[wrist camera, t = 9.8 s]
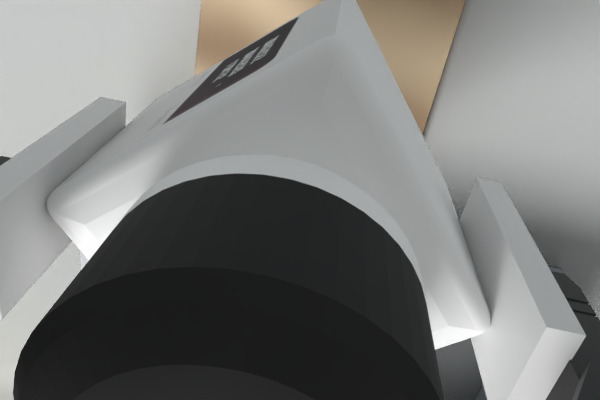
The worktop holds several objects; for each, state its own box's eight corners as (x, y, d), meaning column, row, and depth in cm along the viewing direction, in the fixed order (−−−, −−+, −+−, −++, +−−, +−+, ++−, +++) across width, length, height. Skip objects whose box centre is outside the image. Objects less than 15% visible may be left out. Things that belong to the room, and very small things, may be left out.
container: (151, 101, 18) (-187, 395, 7) (348, -16, 16) (328, 140, 5) (266, 265, 21) (160, 667, 10) (448, 186, 19) (590, 595, 7)
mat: (211, -68, 22) (207, -68, 22) (466, -14, 22) (469, -12, 22) (189, 165, 27) (186, 170, 27) (395, 208, 27) (396, 214, 27)
